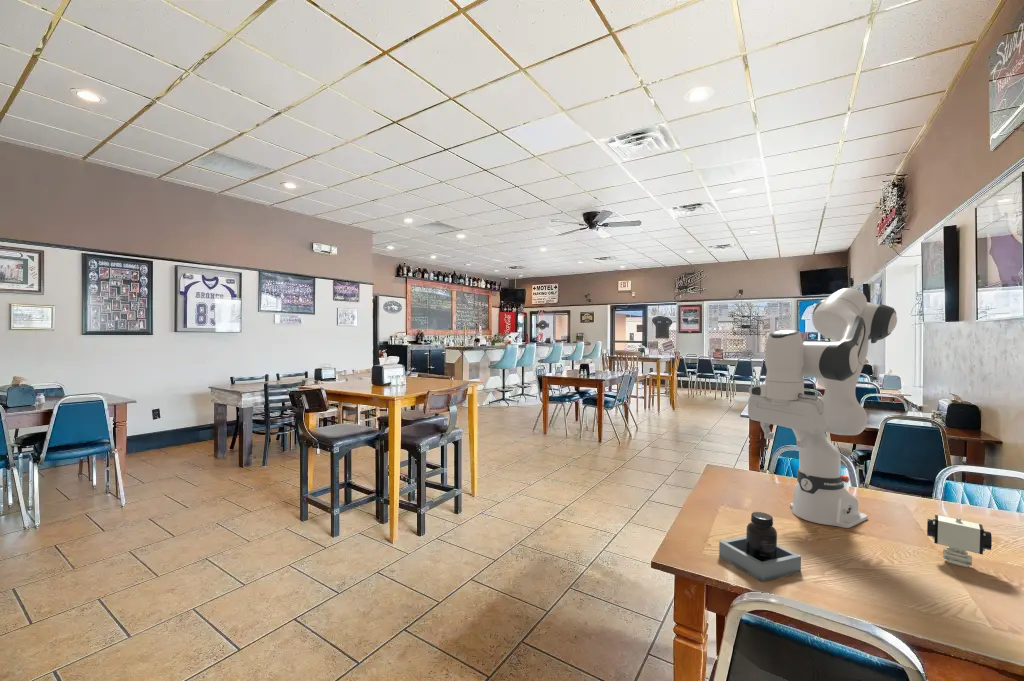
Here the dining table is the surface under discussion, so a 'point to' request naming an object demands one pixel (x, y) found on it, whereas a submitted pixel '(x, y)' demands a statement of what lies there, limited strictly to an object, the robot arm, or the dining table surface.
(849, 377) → the robot arm
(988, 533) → the pneumatic valve
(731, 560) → the tray
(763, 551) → the supplement bottle
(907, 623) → the dining table surface
